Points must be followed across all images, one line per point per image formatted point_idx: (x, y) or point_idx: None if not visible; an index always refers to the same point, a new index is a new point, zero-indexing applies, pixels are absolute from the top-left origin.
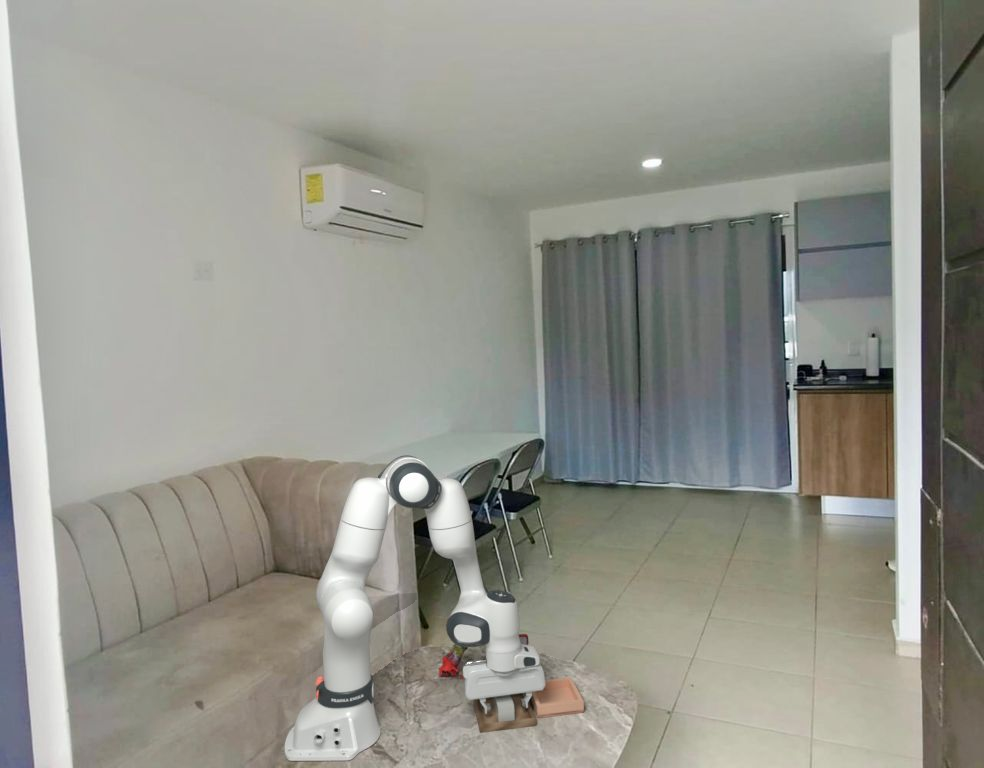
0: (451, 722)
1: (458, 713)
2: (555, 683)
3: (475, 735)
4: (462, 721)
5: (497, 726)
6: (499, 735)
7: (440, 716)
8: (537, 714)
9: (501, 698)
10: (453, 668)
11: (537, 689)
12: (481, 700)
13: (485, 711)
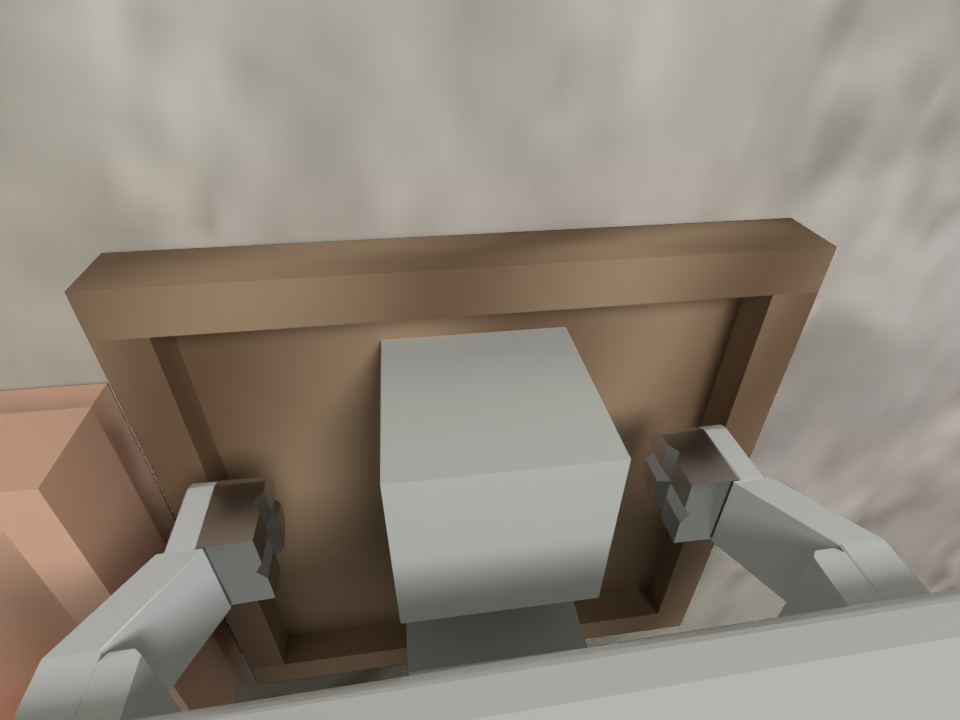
0: (925, 397)
1: (815, 487)
2: None
3: (852, 180)
4: (841, 402)
5: (613, 248)
6: (601, 127)
7: (947, 465)
8: (87, 412)
9: (528, 602)
10: None
11: None
12: (882, 563)
13: (732, 444)
